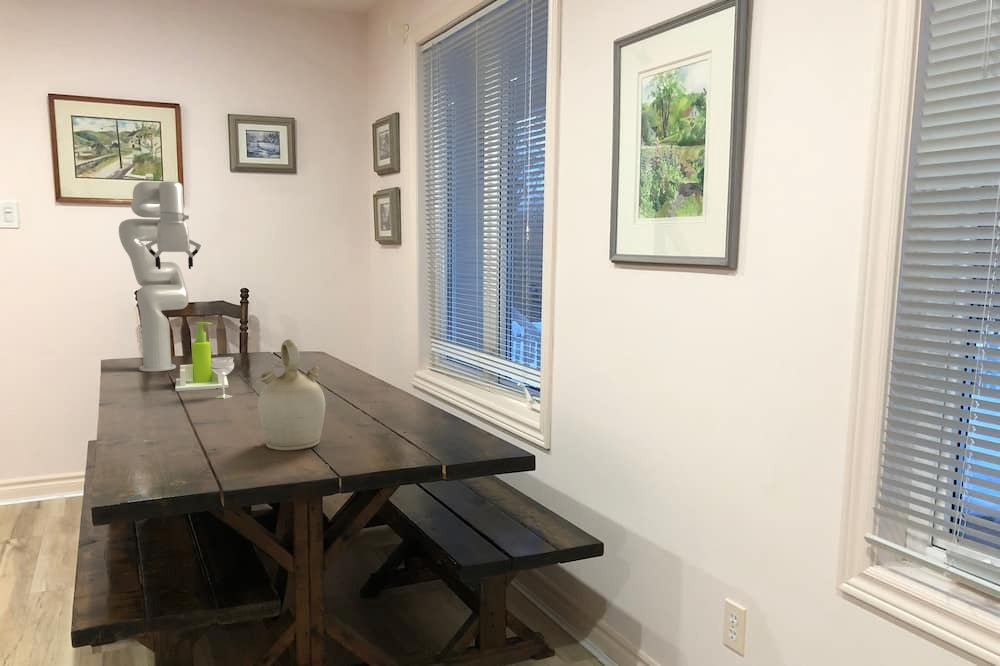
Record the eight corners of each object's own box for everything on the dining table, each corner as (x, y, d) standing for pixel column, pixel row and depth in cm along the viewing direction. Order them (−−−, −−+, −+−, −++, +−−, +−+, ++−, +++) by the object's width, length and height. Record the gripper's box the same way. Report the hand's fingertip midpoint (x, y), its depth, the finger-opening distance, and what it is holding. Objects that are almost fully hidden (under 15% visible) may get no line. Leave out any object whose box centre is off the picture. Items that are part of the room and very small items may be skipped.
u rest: (176, 381, 255) (175, 364, 254) (226, 378, 261) (225, 361, 260) (175, 391, 239) (174, 372, 238) (228, 387, 245) (227, 369, 244)
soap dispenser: (210, 383, 247) (208, 323, 245) (190, 382, 248) (187, 323, 245) (218, 379, 253) (215, 321, 251) (198, 379, 254) (195, 321, 251)
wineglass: (220, 400, 225) (218, 360, 224) (207, 397, 230) (206, 358, 228) (240, 396, 231) (238, 358, 229) (227, 393, 235) (225, 356, 233)
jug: (258, 455, 167) (254, 344, 164) (260, 438, 182) (256, 336, 179) (328, 450, 171) (325, 342, 168) (324, 434, 186) (322, 334, 183)
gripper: (199, 219, 260) (201, 268, 262) (144, 218, 254) (147, 269, 256) (199, 218, 253) (201, 269, 255) (143, 217, 247) (146, 269, 249)
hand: (174, 269), depth 256 cm, fingers open, 9 cm apart
